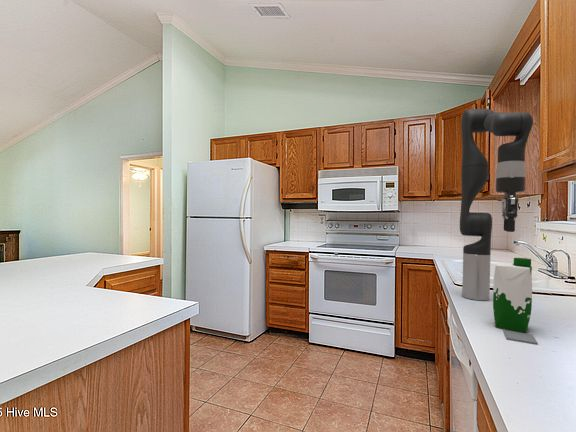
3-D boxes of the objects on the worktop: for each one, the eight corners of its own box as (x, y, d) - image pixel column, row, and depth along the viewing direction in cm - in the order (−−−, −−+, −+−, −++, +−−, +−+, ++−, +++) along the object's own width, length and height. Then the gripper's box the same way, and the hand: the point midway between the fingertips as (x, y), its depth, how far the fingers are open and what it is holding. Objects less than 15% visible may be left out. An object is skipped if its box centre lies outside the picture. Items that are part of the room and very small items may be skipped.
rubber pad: (503, 331, 88) (503, 329, 88) (532, 336, 85) (532, 334, 85) (506, 339, 83) (506, 337, 83) (537, 344, 80) (537, 343, 80)
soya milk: (530, 335, 86) (532, 261, 86) (490, 327, 92) (492, 257, 91) (531, 326, 93) (533, 258, 92) (494, 319, 98) (496, 254, 98)
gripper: (493, 179, 108) (492, 230, 108) (498, 174, 95) (497, 231, 96) (521, 179, 105) (519, 231, 105) (529, 173, 92) (528, 233, 92)
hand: (509, 231), depth 100 cm, fingers open, 4 cm apart
